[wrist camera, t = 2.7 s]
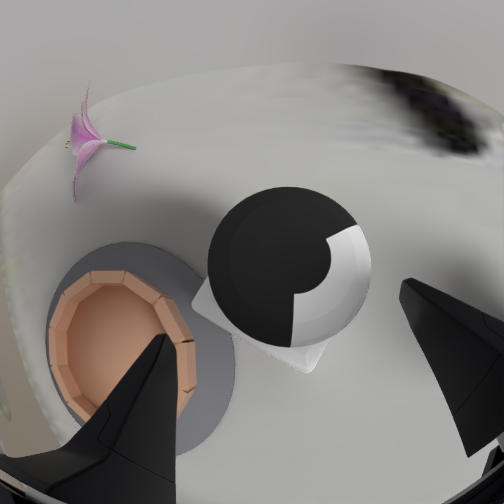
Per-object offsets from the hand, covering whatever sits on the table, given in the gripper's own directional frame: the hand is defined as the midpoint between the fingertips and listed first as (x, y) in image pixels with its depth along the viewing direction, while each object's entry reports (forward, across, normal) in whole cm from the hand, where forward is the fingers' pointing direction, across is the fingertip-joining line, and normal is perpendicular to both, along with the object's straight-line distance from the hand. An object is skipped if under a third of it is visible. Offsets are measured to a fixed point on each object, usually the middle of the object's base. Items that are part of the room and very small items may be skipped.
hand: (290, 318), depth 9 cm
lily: (+22, +15, -5) cm, 27 cm away
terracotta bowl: (+7, +14, +8) cm, 18 cm away
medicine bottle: (+9, 0, +7) cm, 11 cm away
